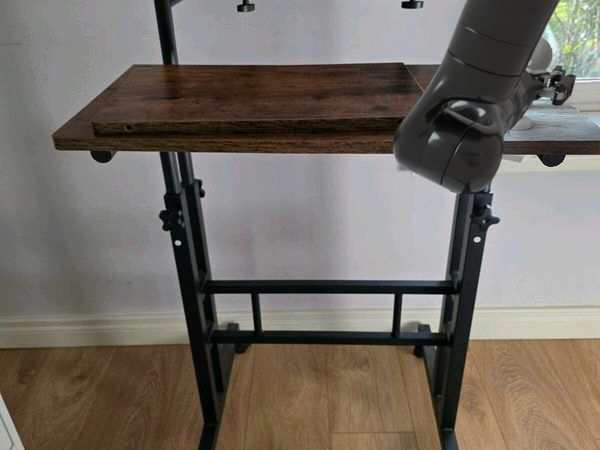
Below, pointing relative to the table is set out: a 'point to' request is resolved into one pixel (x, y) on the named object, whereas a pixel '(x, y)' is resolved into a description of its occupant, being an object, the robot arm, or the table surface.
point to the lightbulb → (541, 56)
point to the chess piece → (525, 120)
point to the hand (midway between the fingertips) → (526, 68)
